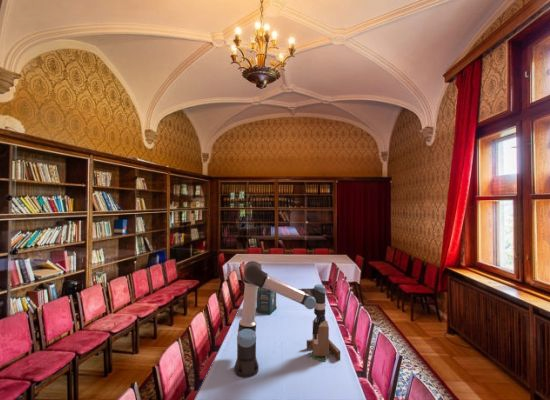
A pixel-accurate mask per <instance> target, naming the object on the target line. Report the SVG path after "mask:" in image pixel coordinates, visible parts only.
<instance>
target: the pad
mask: <svg viewBox="0 0 550 400" xmlns="http://www.w3.org/2000/svg"><path fill="white" fill-rule="evenodd" d="M330 355H332V354H331V353H330V352H329V354H328V356H314V355H313V350H312V351H311V352H310V354H309V355H307V358H310V359H313V360H316V361H319V362H323V363H325V362H326V361H327V359H328V358H329V357H330Z"/></svg>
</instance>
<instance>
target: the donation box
mask: <svg viewBox="0 0 550 400" xmlns="http://www.w3.org/2000/svg"><path fill="white" fill-rule="evenodd" d="M277 309H278V307H277V293H275V292H273V291H271V290H269V289H266V288H260V287H258V289H257V299H256V310H255V312H257V313H258V314H261V315H268V316H270V315H272V314H273V313H274V312H275V311H276V310H277Z"/></svg>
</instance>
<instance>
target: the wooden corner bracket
mask: <svg viewBox="0 0 550 400" xmlns="http://www.w3.org/2000/svg"><path fill="white" fill-rule="evenodd" d="M312 342H313V338H312V339H306V350H307V351H310V350H313V349H312ZM329 353H331V354H330V355H332V356H333V357H334V358H335V360H336V361H341V350H340V349H339V348H338V346H336V345H335V344H334V343H333V342H332V340H330V339H329Z"/></svg>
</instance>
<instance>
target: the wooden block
mask: <svg viewBox="0 0 550 400" xmlns="http://www.w3.org/2000/svg"><path fill="white" fill-rule="evenodd" d="M313 326H314V319H313V320H312V327H313ZM329 327H330V326H329V323H328V321H327V320H326V321H323V322H321V324H320V325H319V329H318V344H314V334H312V339H313V342H312V349H311V350H312V351H313V355H314V356H328V354H329V353H330V351H329V340H330V338H329V337H330V328H329Z"/></svg>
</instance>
